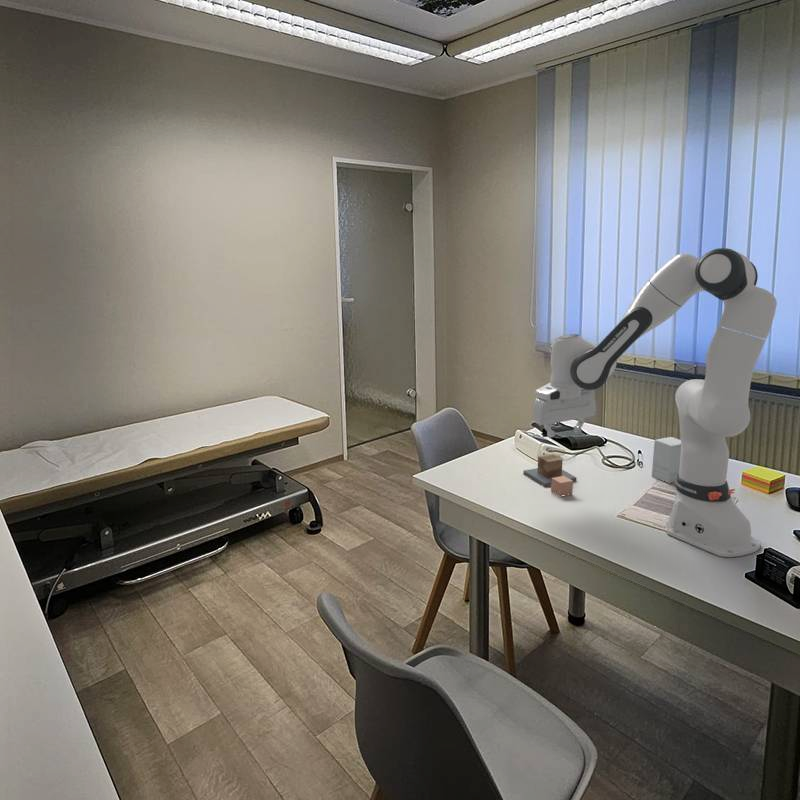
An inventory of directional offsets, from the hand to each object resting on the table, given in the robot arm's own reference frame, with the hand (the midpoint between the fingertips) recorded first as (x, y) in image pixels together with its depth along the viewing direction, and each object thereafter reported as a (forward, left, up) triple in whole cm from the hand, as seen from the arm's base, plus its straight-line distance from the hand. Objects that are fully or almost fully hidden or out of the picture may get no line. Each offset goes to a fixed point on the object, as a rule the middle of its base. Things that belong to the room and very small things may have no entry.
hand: (564, 434), depth 183 cm
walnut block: (+11, -3, -17) cm, 21 cm away
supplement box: (-5, -37, -19) cm, 42 cm away
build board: (+11, -3, -18) cm, 22 cm away
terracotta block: (-1, +1, -18) cm, 18 cm away
